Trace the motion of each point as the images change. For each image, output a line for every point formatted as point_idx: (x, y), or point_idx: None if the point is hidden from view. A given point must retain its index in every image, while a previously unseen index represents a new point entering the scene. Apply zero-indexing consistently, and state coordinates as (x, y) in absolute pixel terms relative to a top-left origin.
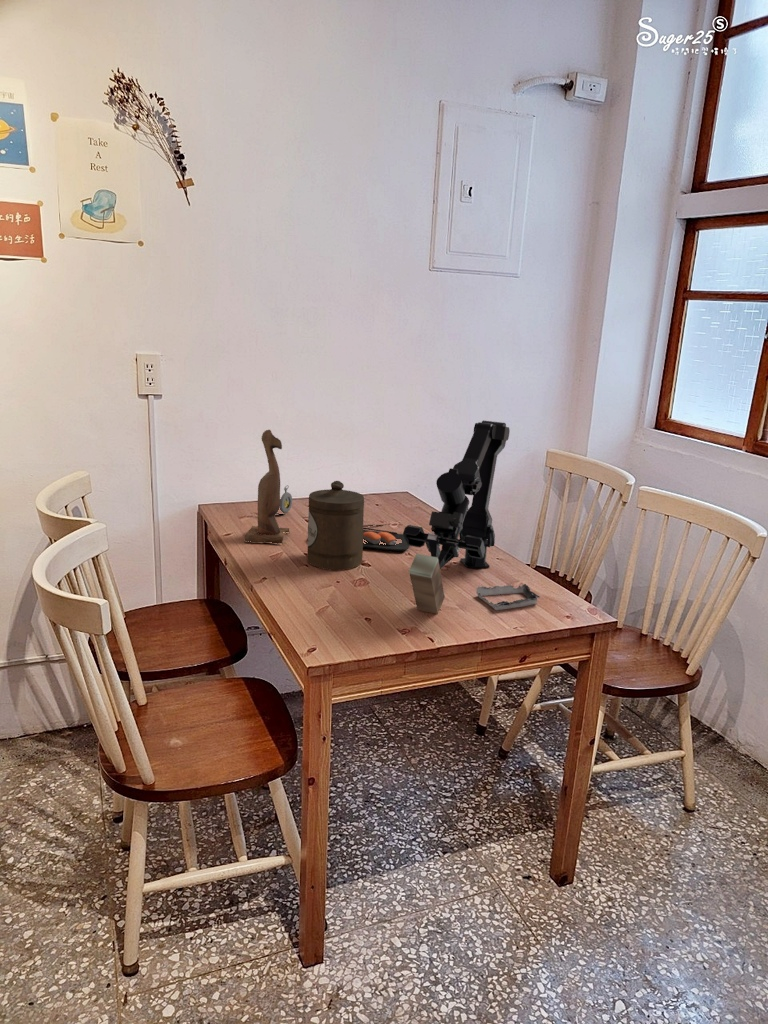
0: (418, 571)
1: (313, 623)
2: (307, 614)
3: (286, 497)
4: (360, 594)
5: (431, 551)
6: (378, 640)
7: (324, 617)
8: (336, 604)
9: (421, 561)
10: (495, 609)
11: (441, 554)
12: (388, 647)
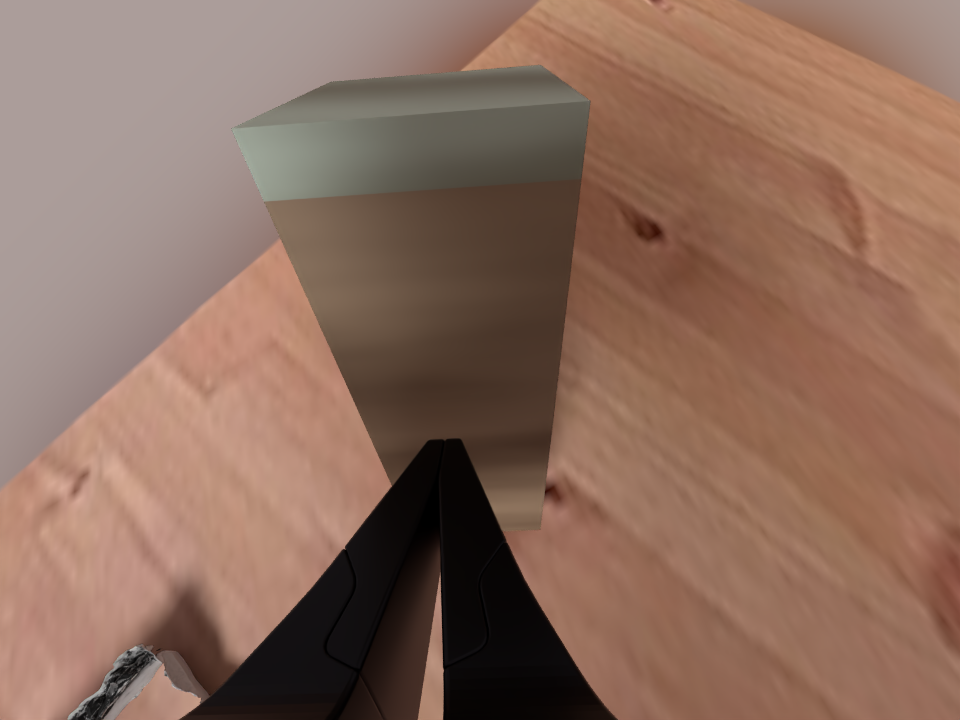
0: (448, 72)
1: (780, 107)
2: (855, 149)
3: None
4: (850, 441)
5: (537, 633)
6: None
7: (787, 161)
8: (845, 280)
9: (460, 92)
10: (176, 652)
11: (344, 618)
12: None
